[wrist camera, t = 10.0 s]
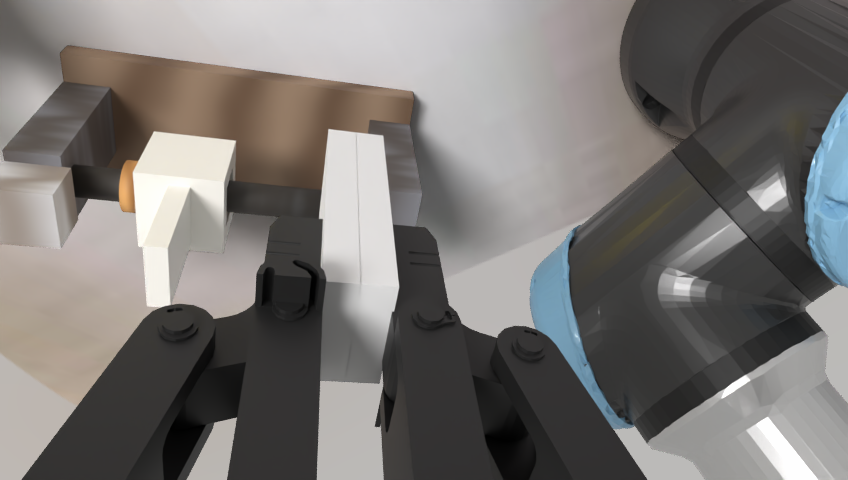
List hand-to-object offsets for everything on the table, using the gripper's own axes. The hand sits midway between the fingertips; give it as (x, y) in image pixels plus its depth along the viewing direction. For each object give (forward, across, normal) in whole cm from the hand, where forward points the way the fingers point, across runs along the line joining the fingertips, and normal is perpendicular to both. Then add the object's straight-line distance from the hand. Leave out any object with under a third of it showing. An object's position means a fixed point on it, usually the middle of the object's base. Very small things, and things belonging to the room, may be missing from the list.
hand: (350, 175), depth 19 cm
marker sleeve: (+23, +8, +14) cm, 28 cm away
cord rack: (+30, +6, +14) cm, 34 cm away
